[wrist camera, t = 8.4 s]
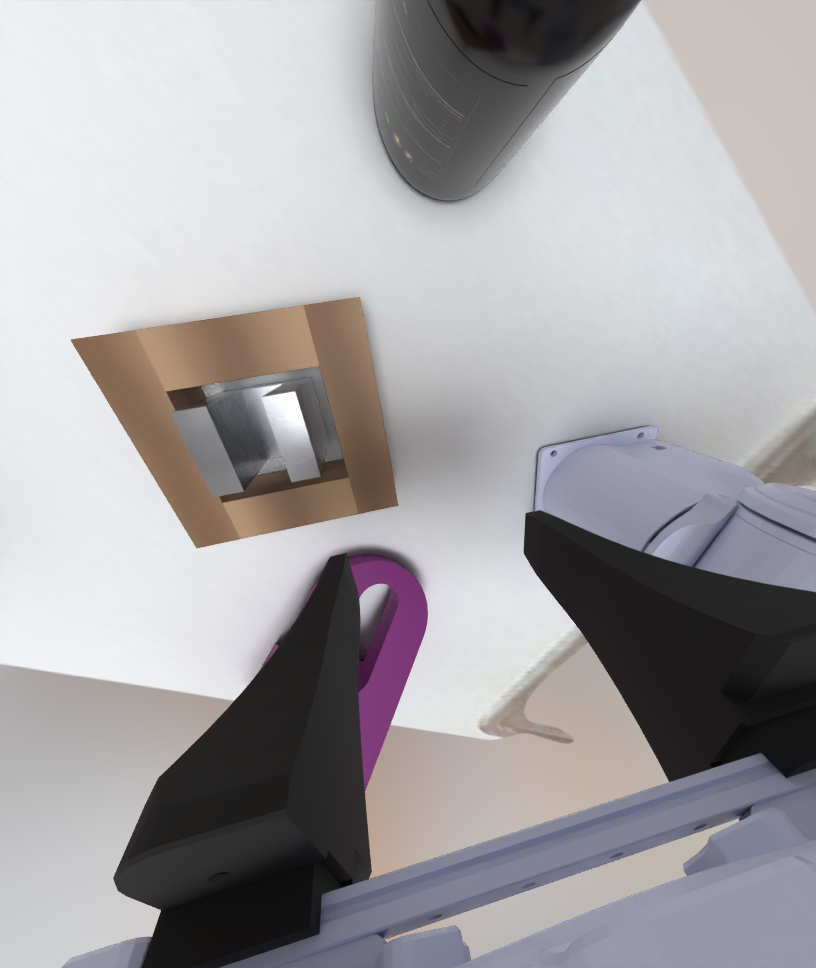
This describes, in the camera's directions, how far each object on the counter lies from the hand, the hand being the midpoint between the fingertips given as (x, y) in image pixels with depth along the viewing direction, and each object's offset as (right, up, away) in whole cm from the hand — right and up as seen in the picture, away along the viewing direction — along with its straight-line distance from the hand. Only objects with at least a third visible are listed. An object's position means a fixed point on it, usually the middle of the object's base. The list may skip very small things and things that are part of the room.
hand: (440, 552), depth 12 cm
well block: (-9, +6, +6) cm, 13 cm away
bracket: (-9, +7, +6) cm, 13 cm away
